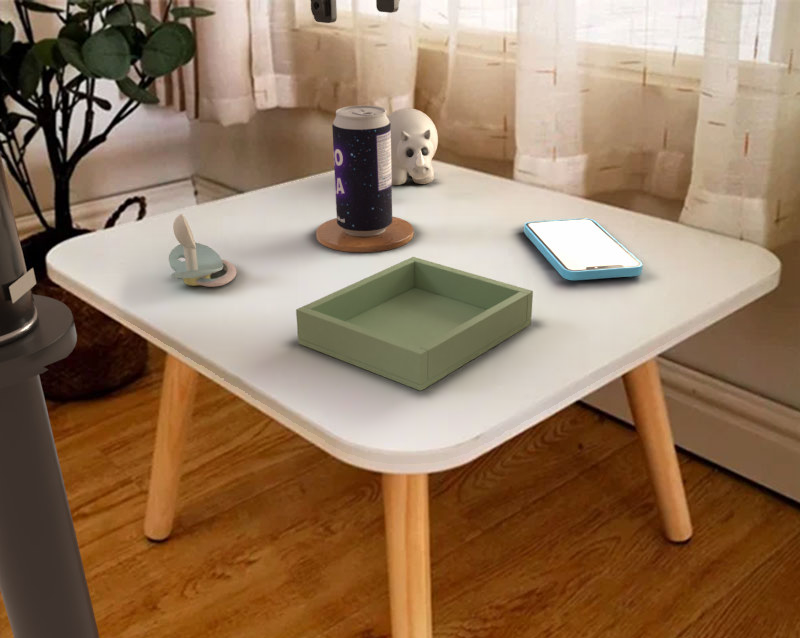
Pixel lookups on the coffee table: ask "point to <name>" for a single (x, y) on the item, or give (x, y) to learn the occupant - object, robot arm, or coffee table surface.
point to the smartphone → (582, 249)
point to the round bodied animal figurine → (412, 146)
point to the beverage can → (362, 169)
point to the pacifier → (196, 259)
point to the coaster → (389, 239)
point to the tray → (414, 321)
